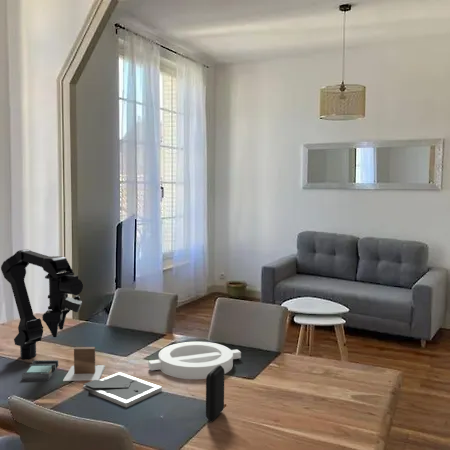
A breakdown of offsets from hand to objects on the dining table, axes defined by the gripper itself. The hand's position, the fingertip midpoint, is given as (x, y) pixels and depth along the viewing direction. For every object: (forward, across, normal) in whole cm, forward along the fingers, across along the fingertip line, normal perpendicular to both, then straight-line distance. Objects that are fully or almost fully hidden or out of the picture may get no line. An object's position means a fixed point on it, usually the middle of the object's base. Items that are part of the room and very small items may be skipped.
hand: (58, 333), depth 189 cm
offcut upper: (+11, -9, +4) cm, 15 cm away
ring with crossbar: (+14, +1, -51) cm, 52 cm away
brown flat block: (+12, -8, -11) cm, 18 cm away
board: (+13, -8, -11) cm, 19 cm away
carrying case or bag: (+13, -41, -56) cm, 71 cm away
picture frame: (+14, -22, -26) cm, 37 cm away
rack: (+13, -7, +4) cm, 15 cm away
